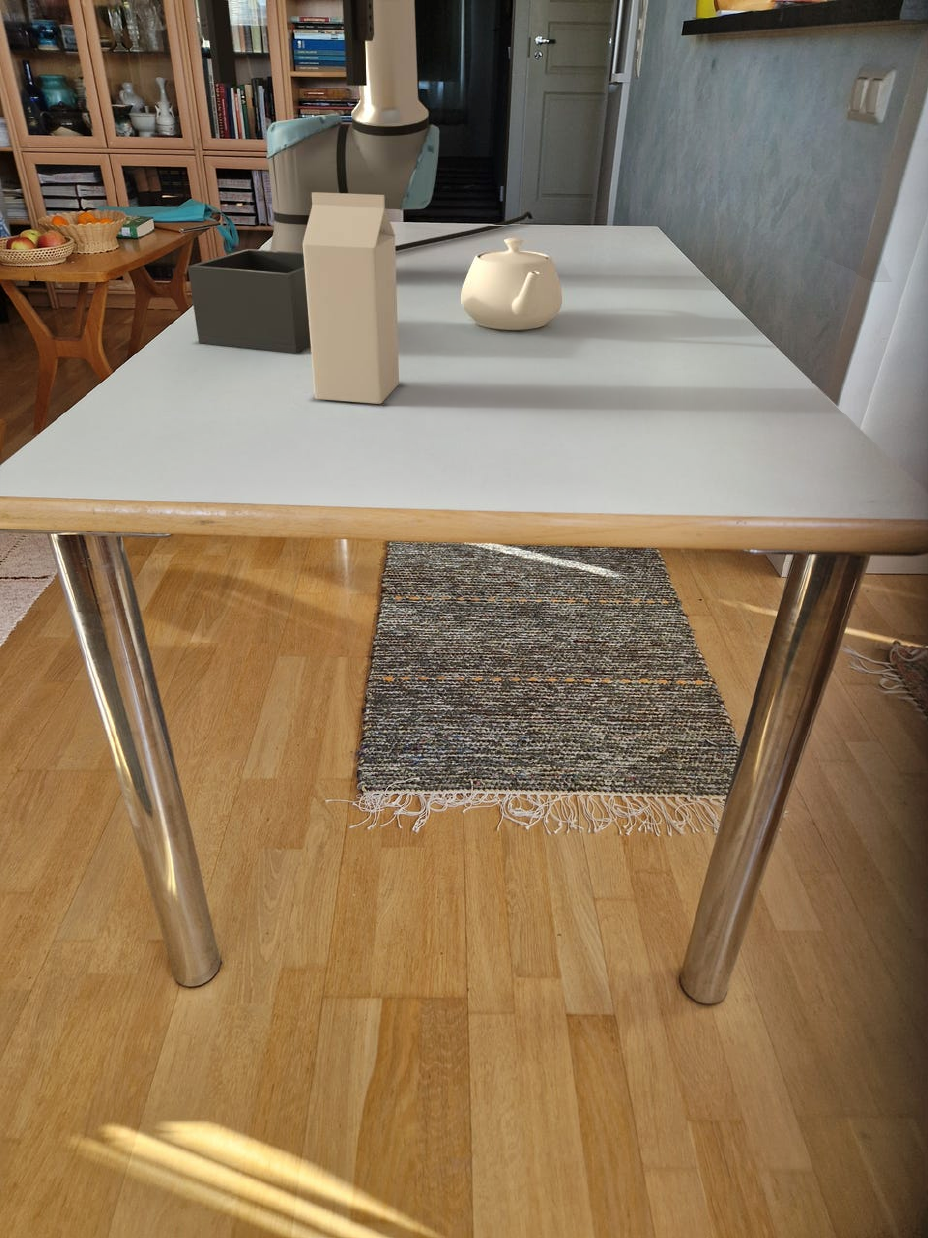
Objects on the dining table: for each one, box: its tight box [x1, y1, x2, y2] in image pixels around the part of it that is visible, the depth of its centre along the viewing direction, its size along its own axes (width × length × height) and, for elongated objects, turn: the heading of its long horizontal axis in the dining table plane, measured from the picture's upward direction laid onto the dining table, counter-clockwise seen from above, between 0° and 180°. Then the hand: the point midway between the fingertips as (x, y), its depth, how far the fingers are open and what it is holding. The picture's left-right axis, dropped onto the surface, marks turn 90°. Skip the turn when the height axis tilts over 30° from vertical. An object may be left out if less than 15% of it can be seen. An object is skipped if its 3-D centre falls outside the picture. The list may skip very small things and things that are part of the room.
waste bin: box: [187, 248, 311, 355], centre depth 108 cm, size 14×14×9 cm
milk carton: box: [303, 192, 400, 405], centre depth 86 cm, size 7×7×19 cm
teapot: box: [460, 237, 563, 331], centre depth 115 cm, size 22×14×11 cm, turn 12°
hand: (290, 85), depth 79 cm, fingers open, 13 cm apart
